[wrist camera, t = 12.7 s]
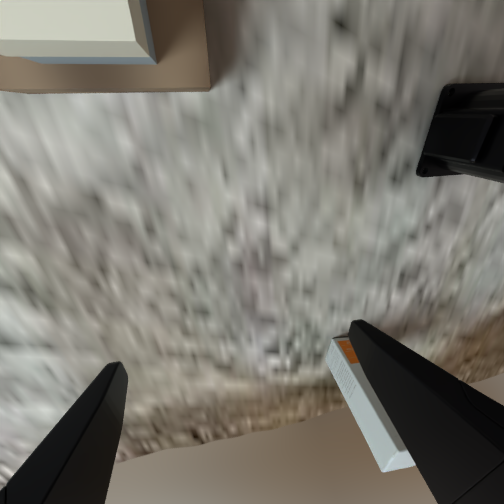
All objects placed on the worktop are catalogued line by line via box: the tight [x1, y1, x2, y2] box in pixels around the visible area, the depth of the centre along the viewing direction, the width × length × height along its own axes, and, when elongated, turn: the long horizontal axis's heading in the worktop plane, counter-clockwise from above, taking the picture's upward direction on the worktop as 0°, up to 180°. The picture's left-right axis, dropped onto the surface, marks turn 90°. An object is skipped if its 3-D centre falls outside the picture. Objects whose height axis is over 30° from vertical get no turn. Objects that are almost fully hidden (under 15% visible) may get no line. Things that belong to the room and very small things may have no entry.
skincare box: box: [325, 337, 416, 472], centre depth 26 cm, size 6×4×12 cm
